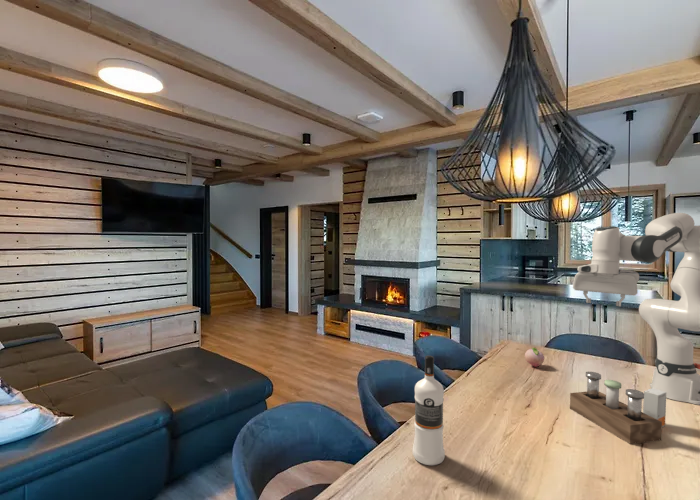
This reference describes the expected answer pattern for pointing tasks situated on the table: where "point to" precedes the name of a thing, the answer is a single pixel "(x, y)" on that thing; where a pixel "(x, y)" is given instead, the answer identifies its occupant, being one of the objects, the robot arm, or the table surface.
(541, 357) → the decorative fruit
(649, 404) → the skincare box
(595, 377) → the plug
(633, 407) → the plug
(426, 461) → the vodka
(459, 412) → the table surface
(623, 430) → the block
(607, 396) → the plug mid
